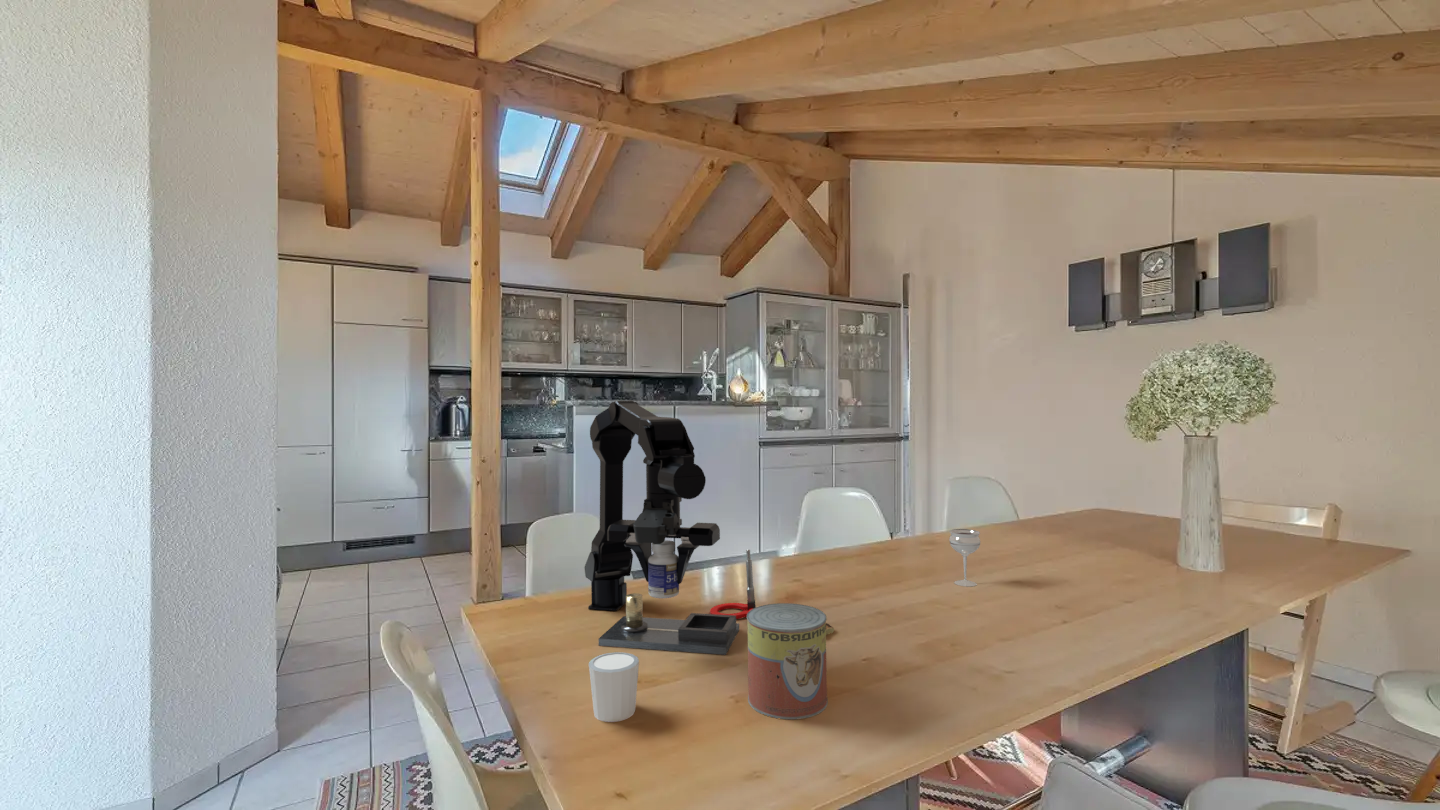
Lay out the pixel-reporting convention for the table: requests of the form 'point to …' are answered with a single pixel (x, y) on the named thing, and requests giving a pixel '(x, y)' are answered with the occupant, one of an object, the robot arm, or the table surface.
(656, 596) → the pill bottle
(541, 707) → the table surface
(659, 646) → the metal plate with knob
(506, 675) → the table surface
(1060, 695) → the table surface
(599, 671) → the white cup
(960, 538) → the wineglass
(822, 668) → the canned food
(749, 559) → the tow hook
